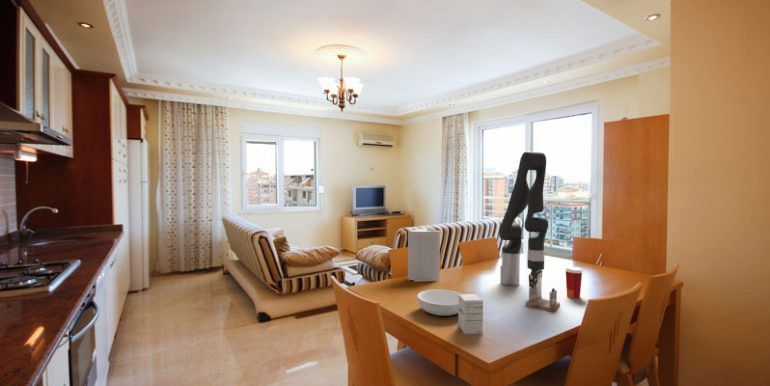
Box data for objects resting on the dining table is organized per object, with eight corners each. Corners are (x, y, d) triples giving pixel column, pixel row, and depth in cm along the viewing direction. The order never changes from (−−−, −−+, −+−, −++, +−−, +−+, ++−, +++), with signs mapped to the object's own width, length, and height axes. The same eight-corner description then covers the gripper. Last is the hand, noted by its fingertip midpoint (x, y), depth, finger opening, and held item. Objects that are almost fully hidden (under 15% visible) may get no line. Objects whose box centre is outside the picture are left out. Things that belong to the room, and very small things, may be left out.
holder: (525, 306, 164) (525, 286, 164) (532, 300, 172) (532, 282, 172) (554, 312, 157) (554, 292, 156) (559, 305, 164) (560, 286, 164)
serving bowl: (435, 325, 142) (436, 307, 142) (408, 308, 161) (408, 293, 161) (476, 316, 152) (477, 299, 152) (446, 301, 171) (446, 286, 170)
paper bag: (429, 284, 198) (429, 233, 197) (407, 279, 207) (407, 231, 207) (447, 277, 212) (447, 229, 212) (426, 273, 222) (426, 227, 221)
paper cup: (581, 295, 179) (582, 267, 179) (582, 300, 172) (583, 270, 172) (564, 293, 182) (564, 265, 182) (564, 298, 175) (564, 269, 175)
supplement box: (457, 326, 141) (458, 294, 141) (476, 325, 142) (476, 293, 141) (463, 334, 134) (463, 300, 133) (483, 333, 134) (483, 299, 134)
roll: (527, 297, 175) (527, 276, 175) (530, 295, 180) (531, 274, 179) (539, 300, 172) (539, 278, 171) (542, 297, 176) (543, 276, 176)
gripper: (532, 255, 183) (531, 288, 184) (523, 260, 172) (522, 295, 172) (548, 257, 178) (547, 291, 179) (539, 262, 167) (539, 298, 168)
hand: (535, 293), depth 176 cm, fingers closed on roll, 5 cm apart
